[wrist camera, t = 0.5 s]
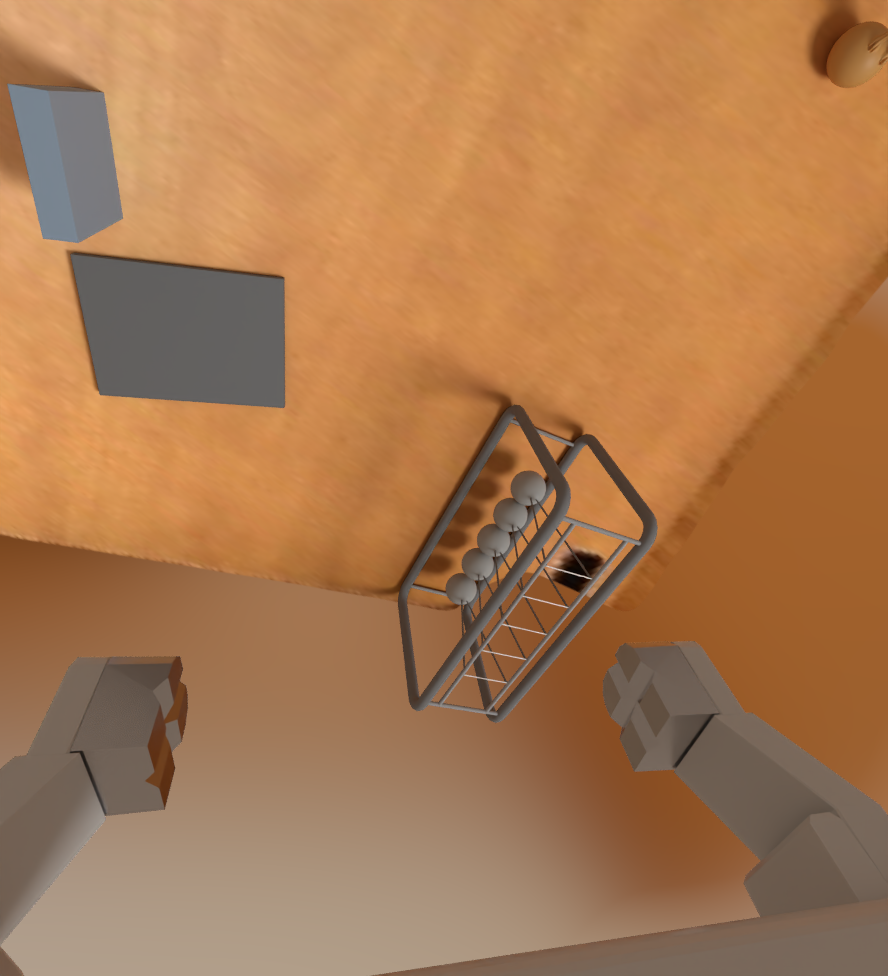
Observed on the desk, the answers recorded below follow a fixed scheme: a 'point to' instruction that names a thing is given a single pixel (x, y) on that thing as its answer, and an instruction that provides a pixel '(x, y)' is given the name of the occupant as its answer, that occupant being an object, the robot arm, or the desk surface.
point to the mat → (183, 331)
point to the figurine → (858, 55)
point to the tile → (68, 159)
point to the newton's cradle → (517, 565)
